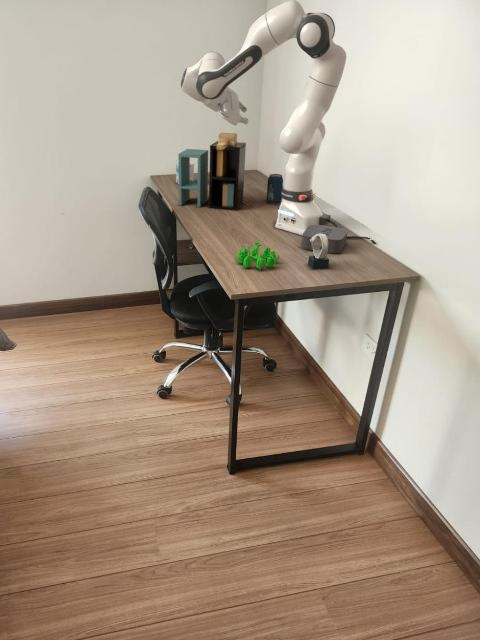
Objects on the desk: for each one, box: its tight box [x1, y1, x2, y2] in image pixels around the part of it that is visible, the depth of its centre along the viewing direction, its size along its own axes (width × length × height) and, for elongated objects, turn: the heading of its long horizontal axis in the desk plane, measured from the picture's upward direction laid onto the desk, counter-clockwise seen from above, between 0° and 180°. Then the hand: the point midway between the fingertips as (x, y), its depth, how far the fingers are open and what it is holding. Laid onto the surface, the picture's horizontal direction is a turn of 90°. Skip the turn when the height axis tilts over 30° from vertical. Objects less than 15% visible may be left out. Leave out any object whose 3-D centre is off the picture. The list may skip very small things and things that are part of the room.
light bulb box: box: [175, 160, 195, 185], centre depth 274 cm, size 11×7×11 cm, turn 17°
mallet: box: [217, 132, 238, 150], centre depth 223 cm, size 15×7×4 cm, turn 162°
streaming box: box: [301, 225, 348, 254], centre depth 198 cm, size 14×14×5 cm
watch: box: [307, 233, 330, 270], centre depth 180 cm, size 6×8×11 cm
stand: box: [177, 148, 209, 208], centre depth 242 cm, size 12×10×22 cm
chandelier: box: [234, 242, 280, 271], centre depth 183 cm, size 15×15×7 cm
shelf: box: [208, 140, 247, 211], centre depth 236 cm, size 11×13×26 cm
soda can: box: [265, 173, 284, 205], centre depth 245 cm, size 7×7×12 cm
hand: (246, 116), depth 217 cm, fingers open, 8 cm apart
